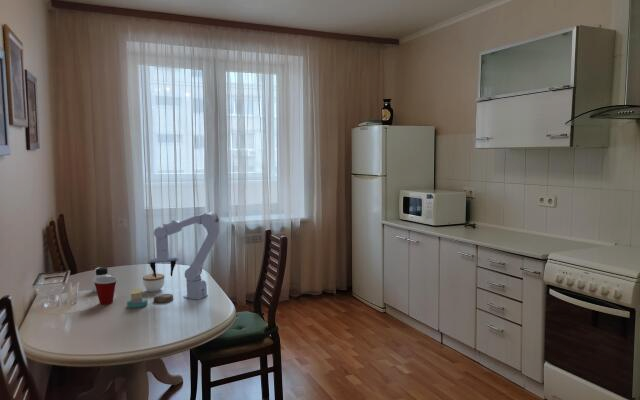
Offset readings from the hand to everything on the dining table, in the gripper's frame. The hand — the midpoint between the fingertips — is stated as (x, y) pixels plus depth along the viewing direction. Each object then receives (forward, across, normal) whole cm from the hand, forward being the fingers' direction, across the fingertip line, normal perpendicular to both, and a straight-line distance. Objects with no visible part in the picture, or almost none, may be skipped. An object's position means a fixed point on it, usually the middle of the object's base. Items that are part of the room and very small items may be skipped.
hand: (163, 276), depth 238 cm
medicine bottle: (+11, +31, -25) cm, 41 cm away
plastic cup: (+11, +27, 0) cm, 29 cm away
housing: (+8, +13, +10) cm, 18 cm away
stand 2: (+10, 0, +6) cm, 12 cm away
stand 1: (+10, +12, +10) cm, 19 cm away
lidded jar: (+11, +5, -13) cm, 18 cm away
